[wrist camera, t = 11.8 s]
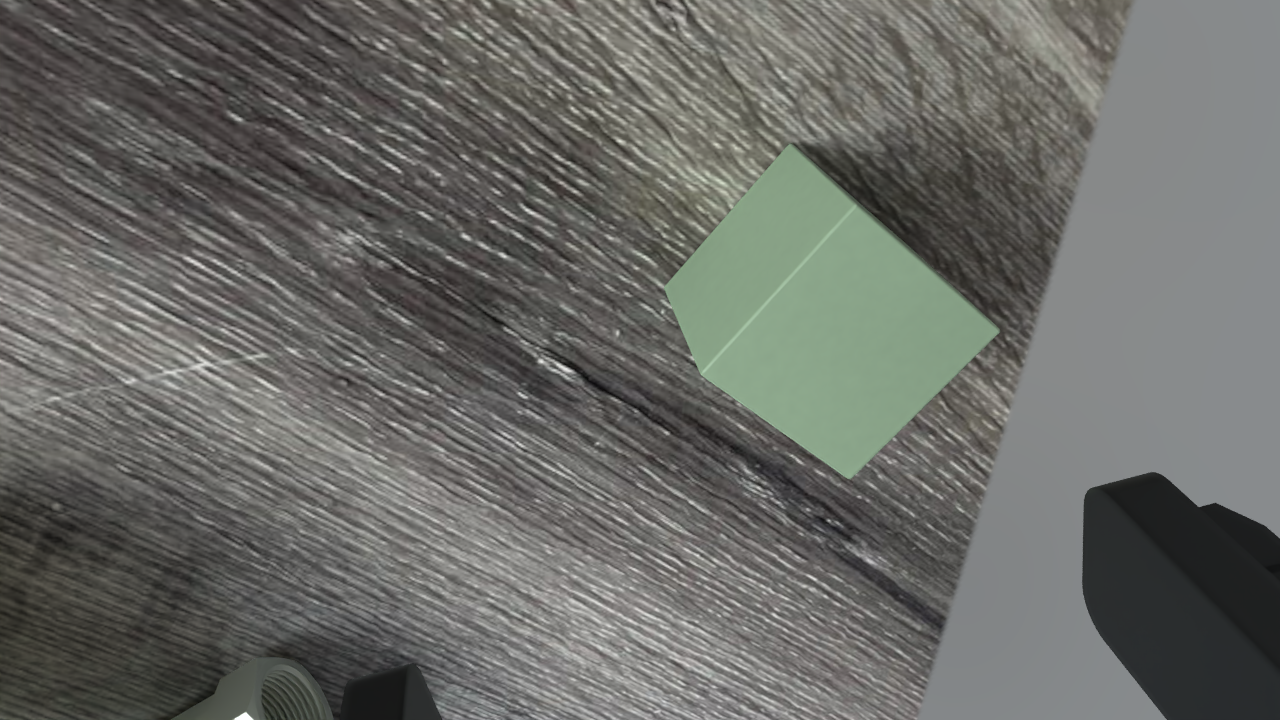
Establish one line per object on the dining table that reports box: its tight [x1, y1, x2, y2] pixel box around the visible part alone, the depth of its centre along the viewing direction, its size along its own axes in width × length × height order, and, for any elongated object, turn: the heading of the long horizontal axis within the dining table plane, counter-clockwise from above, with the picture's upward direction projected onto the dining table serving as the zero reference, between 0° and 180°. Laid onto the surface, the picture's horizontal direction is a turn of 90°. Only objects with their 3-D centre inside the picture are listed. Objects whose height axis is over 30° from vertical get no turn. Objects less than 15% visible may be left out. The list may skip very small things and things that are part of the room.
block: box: [664, 143, 1000, 479], centre depth 24 cm, size 5×5×5 cm
